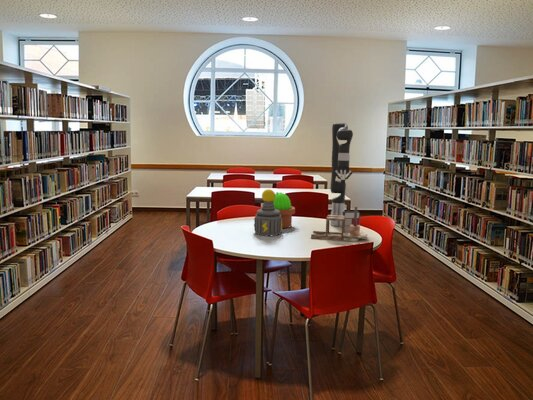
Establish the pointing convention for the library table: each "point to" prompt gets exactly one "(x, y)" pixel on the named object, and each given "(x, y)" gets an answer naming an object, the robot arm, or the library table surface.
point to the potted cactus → (284, 209)
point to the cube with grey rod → (355, 228)
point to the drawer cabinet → (333, 234)
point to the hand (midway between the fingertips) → (342, 185)
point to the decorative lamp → (268, 216)
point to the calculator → (349, 220)
